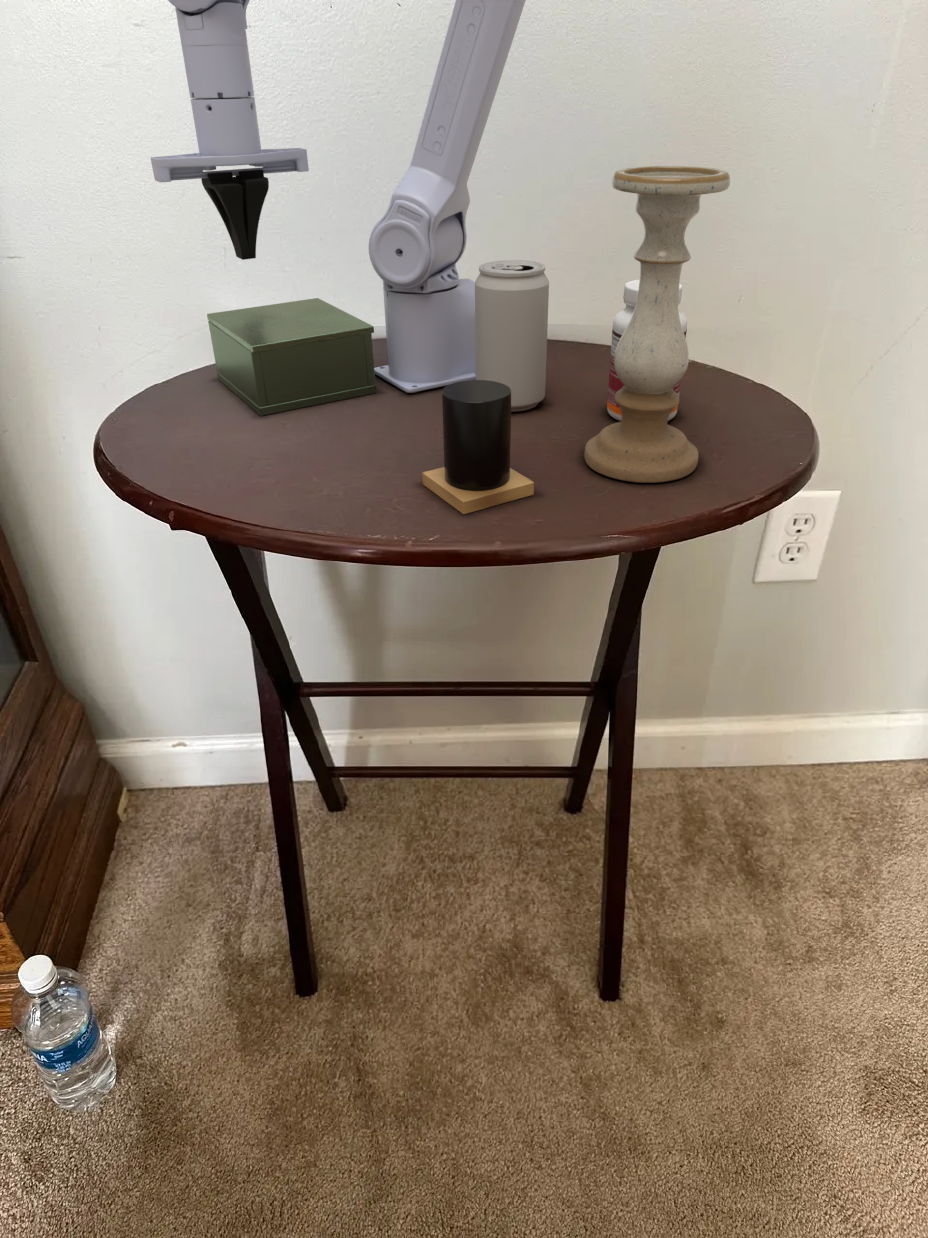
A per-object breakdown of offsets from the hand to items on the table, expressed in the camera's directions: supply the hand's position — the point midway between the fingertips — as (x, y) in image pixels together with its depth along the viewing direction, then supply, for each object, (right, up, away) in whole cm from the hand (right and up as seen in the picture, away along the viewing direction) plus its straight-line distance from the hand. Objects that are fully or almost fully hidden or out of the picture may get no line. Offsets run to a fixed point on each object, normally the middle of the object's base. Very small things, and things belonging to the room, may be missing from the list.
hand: (246, 257), depth 85 cm
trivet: (+23, -27, -22) cm, 41 cm away
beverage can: (+26, -16, -6) cm, 31 cm away
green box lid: (+5, -9, -5) cm, 11 cm away
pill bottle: (+38, -18, -9) cm, 43 cm away
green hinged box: (+5, -13, -1) cm, 14 cm away
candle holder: (+36, -24, -18) cm, 47 cm away
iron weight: (+23, -26, -23) cm, 41 cm away
